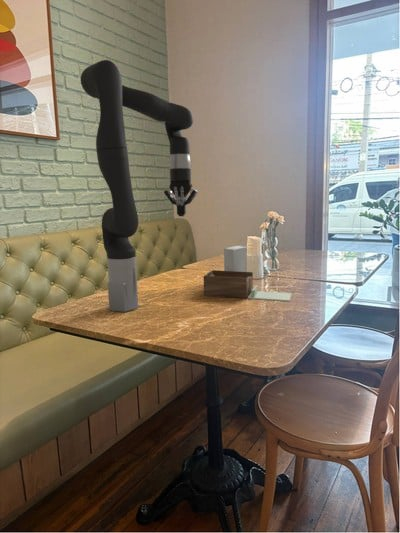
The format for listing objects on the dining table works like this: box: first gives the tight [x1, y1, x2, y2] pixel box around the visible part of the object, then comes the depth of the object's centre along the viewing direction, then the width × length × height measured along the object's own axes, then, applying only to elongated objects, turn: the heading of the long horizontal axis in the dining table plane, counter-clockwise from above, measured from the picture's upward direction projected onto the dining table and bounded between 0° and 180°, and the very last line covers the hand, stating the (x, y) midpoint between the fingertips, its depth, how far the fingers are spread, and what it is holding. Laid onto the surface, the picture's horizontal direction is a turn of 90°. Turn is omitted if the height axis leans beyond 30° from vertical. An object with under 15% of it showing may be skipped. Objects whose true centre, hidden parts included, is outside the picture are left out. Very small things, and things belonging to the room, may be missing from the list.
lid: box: [247, 284, 293, 302], centre depth 142 cm, size 10×15×4 cm, turn 72°
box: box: [203, 269, 254, 299], centre depth 147 cm, size 11×16×7 cm
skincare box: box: [223, 245, 248, 272], centre depth 165 cm, size 8×6×15 cm
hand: (181, 216), depth 145 cm, fingers closed
